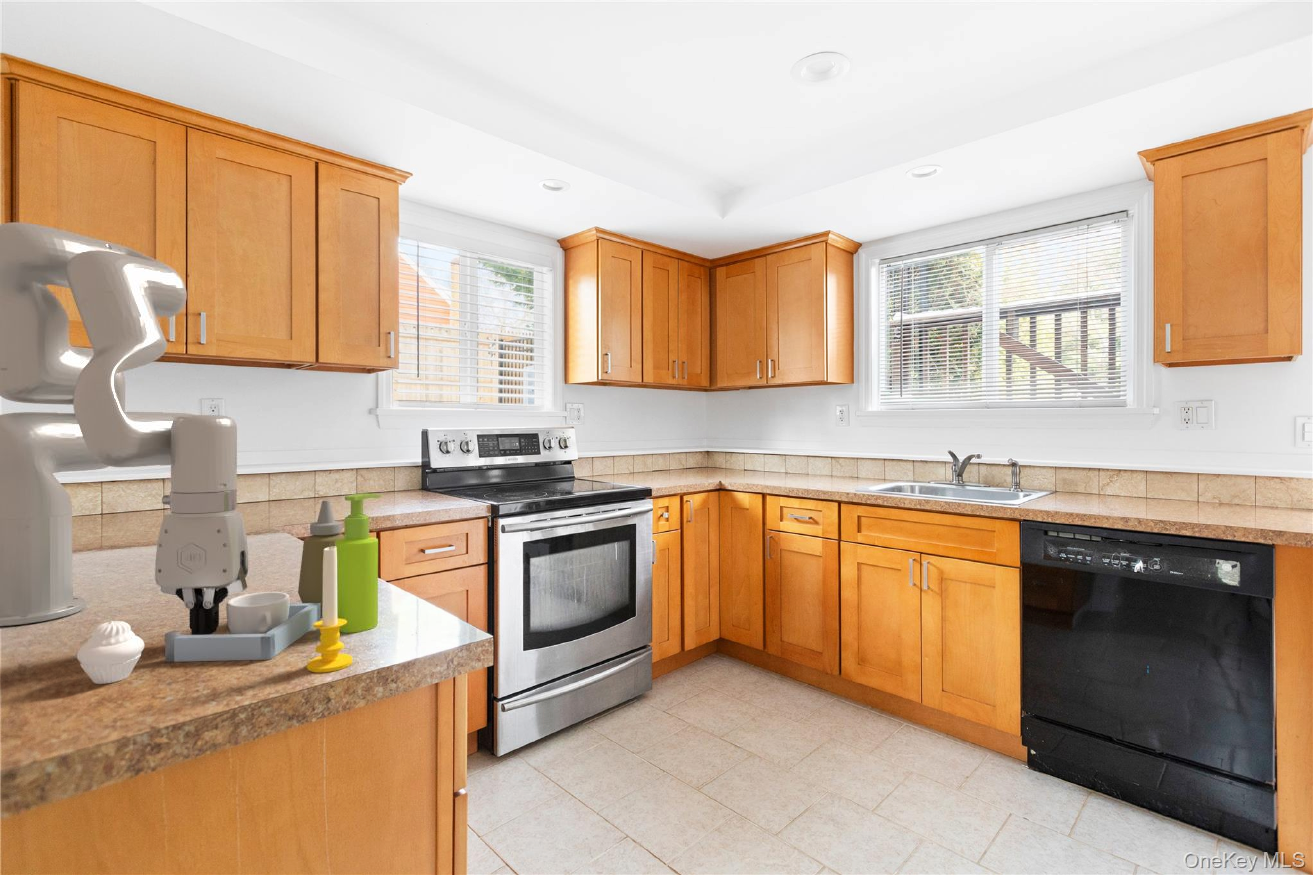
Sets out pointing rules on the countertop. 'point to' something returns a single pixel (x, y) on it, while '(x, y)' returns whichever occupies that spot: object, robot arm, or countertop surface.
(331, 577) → the candle
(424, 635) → the countertop surface
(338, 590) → the soap dispenser
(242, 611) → the teacup
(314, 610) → the bay
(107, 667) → the muffin
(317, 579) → the squeeze bottle
